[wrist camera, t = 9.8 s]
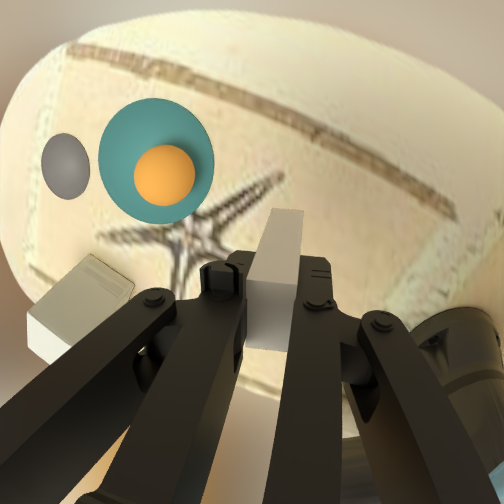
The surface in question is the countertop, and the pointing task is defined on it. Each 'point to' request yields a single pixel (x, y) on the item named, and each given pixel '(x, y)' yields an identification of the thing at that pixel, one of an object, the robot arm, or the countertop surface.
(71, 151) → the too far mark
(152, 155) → the ball
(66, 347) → the supplement box
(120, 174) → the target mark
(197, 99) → the countertop surface
